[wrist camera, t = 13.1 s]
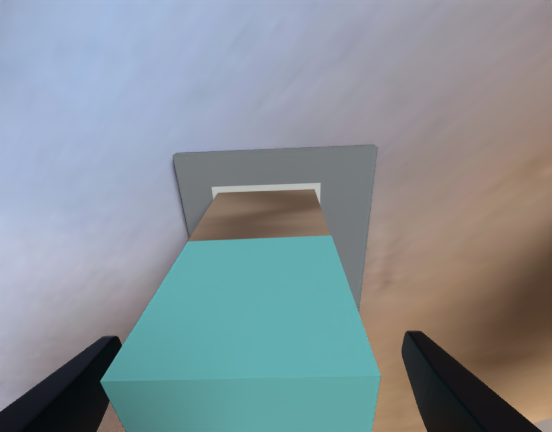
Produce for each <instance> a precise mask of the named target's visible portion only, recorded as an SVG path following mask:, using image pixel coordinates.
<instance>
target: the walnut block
mask: <svg viewBox="0 0 552 432" xmlns="http://www.w3.org/2000/svg"><path fill="white" fill-rule="evenodd" d="M306 236H330V233H329V230H328V227H327V224H326V221H325V218H324V215H323V212H322V209H321V206H320V204H319V201H318V198H317V195H316V192H315V189H304V190H276V191H249V192H221V193H217V195H216V197H215V198H214V200H213V201H212V203H211V205H210V206H209V208H208V209H207V211H206V213H205V214H204V216H203V217H202V219H201V220H200V222H199V224H198V225H197V227H196V228H195V230H194V232H193V233H192V235H191V236H190V238H189V239H188V241H209V240H234V239H258V238H282V237H306ZM188 241H187V242H188Z"/></svg>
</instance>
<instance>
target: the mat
mask: <svg viewBox="0 0 552 432" xmlns="http://www.w3.org/2000/svg"><path fill="white" fill-rule="evenodd" d="M377 149H378V147H377V146H375V145H355V146H331V147H307V148H283V149H259V150H235V151H210V152H186V153H176V154H174V155H173V160H174V164H175V169H176V174H177V179H178V184H179V189H180V193H181V198H182V203H183V208H184V213H185V218H186V223H187V227H188V232H189V237H190V236H191V235H192V233H193V232H194V230H195V228H196V227H197V225H198V224H199V222H200V220H201V219H202V217H203V216H204V214H205V213H206V211H207V209H208V208H209V206H210V205H211V203H212V201H213V200H214V198H215V197H216V195H217V193H221V192H249V191H276V190H304V189H315V192H316V195H317V198H318V201H319V204H320V206H321V209H322V212H323V215H324V218H325V221H326V224H327V227H328V230H329V233H330V235H331V236H332V238H333V241H334V244H335V247H336V250H337V253H338V256H339V258H340V261H341V264H342V267H343V270H344V273H345V275H346V278H347V281H348V284H349V287H350V290H351V293H352V295H353V298H354V301H355V304H356V307H357V310H358V313H359V308H360V299H361V290H362V281H363V273H364V264H365V255H366V246H367V237H368V229H369V220H370V211H371V202H372V193H373V185H374V176H375V167H376V158H377Z"/></svg>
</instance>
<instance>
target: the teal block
mask: <svg viewBox="0 0 552 432" xmlns="http://www.w3.org/2000/svg"><path fill="white" fill-rule="evenodd" d="M380 377H381V375H380V372H379V370H378V367H377V364H376V361H375V358H374V355H373V352H372V350H371V347H370V344H369V341H368V338H367V335H366V333H365V330H364V327H363V324H362V321H361V318H360V315H359V313H358V310H357V307H356V304H355V301H354V298H353V295H352V293H351V290H350V287H349V284H348V281H347V278H346V275H345V273H344V270H343V267H342V264H341V261H340V258H339V256H338V253H337V250H336V247H335V244H334V241H333V238H332V236H331V235H330V236H306V237H282V238H258V239H234V240H209V241H188V242H187V244H186V245H185V247H184V248H183V250H182V252H181V253H180V255H179V256H178V258H177V260H176V261H175V263H174V264H173V266H172V268H171V269H170V271H169V272H168V274H167V275H166V277H165V279H164V280H163V282H162V283H161V285H160V287H159V288H158V290H157V291H156V293H155V295H154V296H153V298H152V299H151V301H150V303H149V304H148V306H147V307H146V309H145V311H144V312H143V314H142V315H141V317H140V319H139V320H138V322H137V323H136V325H135V327H134V328H133V330H132V331H131V333H130V335H129V336H128V338H127V339H126V341H125V343H124V344H123V346H122V347H121V349H120V351H119V352H118V354H117V355H116V357H115V359H114V360H113V362H112V363H111V365H110V366H109V368H108V370H107V371H106V373H105V374H104V376H103V378H102V379H101V381H100V382H101V384H102V386H103V388H104V390H105V392H106V394H107V396H108V398H109V400H110V402H111V404H112V406H113V408H114V410H115V411H116V413H117V415H118V417H119V419H120V421H121V423H122V425H123V427H124V429H125V431H126V432H372V426H373V420H374V414H375V408H376V402H377V396H378V389H379V383H380Z"/></svg>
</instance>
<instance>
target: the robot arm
mask: <svg viewBox="0 0 552 432" xmlns="http://www.w3.org/2000/svg"><path fill="white" fill-rule="evenodd" d="M121 347H122V344H121V342H120V339H119V337H117V336H104V337H102V338H100V339H99V340H97V341H96V342H95V343H93V344H92V345H90V346H89V347H88V348H86V349H85V350H84V351H82V352H81V353H80V354H78V355H77V356H76V357H74V358H73V359H71V360H70V361H69V362H67V363H66V364H65V365H63V366H62V367H61V368H59V369H58V370H56V371H55V372H54V373H52V374H51V375H50V376H48V377H47V378H46V379H44V380H43V381H41V382H40V383H39V384H37V385H36V386H35V387H33V388H32V389H31V390H29V391H28V392H26V393H25V394H24V395H22V396H21V397H20V398H18V399H17V400H16V401H14V402H13V403H11V404H10V405H9V406H7V407H6V408H5V409H3V410H2V411H1V412H0V432H97V429H98V427H99V425H100V423H101V421H102V419H103V416H104V414H105V412H106V409H107V407H108V404H109V401H110V400H109V398H108V396H107V394H106V392H105V390H104V388H103V386H102V384H101V382H100V381H101V379H102V378H103V376H104V374H105V373H106V371H107V370H108V368H109V366H110V365H111V363H112V362H113V360H114V359H115V357H116V355H117V354H118V352H119V351H120V349H121ZM402 357H403V361H404V364H405V367H406V371H407V374H408V377H409V380H410V383H411V387H412V390H413V393H414V396H415V400H416V403H417V406H418V409H419V412H420V414H421V417H422V420H423V422H424V425H425V427H426V429H427V432H542V431H541V430H540V429H538V428H537V427H536V426H534V424H532V423H531V422H530V421H529V420H528V419H526V418H525V417H524V416H523V415H522V414H520V413H519V412H518V411H517V410H516V409H514V408H513V407H512V406H511V405H509V404H508V403H507V402H506V401H505V400H503V399H502V398H501V397H500V396H499V395H497V394H496V393H495V392H494V391H493V390H491V389H490V388H489V387H488V386H487V385H485V384H484V383H483V382H482V381H481V380H479V379H478V378H477V377H476V376H475V375H473V374H472V373H471V372H470V371H469V370H467V369H466V368H465V367H464V366H463V365H461V364H460V363H459V362H458V361H456V360H455V359H454V358H453V357H452V356H450V355H449V354H448V353H447V352H446V351H444V350H443V349H442V348H441V347H440V346H438V345H437V344H436V343H435V342H434V341H432V340H431V339H430V338H429V337H428V336H426V335H425V334H424V333H423V332H421V331H406V333H405V336H404V340H403V345H402Z"/></svg>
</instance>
